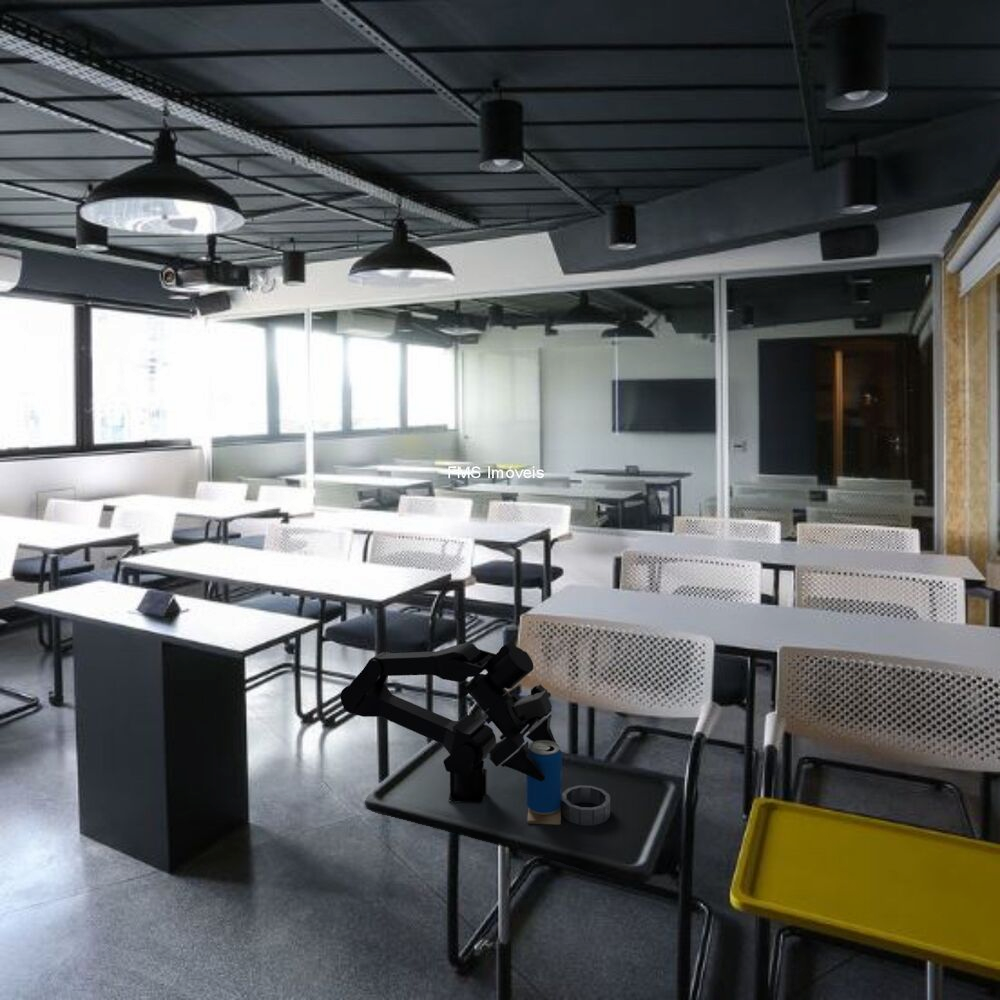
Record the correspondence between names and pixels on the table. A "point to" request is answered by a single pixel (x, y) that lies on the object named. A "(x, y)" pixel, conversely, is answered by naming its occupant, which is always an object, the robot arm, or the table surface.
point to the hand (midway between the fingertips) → (551, 768)
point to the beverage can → (549, 791)
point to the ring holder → (584, 813)
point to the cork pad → (544, 818)
